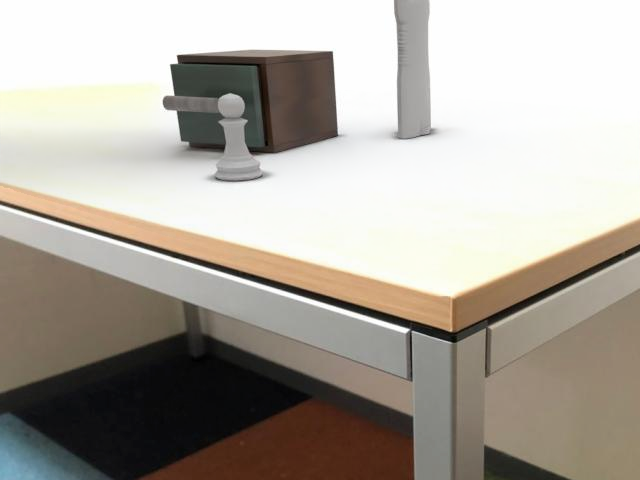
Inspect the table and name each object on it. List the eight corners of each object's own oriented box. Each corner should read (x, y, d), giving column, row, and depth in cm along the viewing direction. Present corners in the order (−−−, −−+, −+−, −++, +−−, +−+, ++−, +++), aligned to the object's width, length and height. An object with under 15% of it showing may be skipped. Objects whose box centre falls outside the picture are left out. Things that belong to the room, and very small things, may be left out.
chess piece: (205, 179, 74) (194, 94, 71) (231, 170, 78) (222, 90, 75) (247, 182, 72) (237, 96, 69) (271, 173, 77) (264, 91, 73)
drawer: (234, 153, 82) (225, 69, 79) (154, 147, 86) (141, 66, 83) (321, 131, 97) (316, 59, 94) (249, 126, 101) (242, 57, 98)
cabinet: (274, 153, 88) (265, 56, 83) (189, 146, 92) (176, 54, 88) (338, 135, 100) (333, 51, 96) (260, 130, 104) (252, 49, 100)
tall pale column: (415, 139, 96) (412, -52, 88) (386, 138, 98) (379, -51, 89) (441, 128, 106) (440, -46, 97) (414, 127, 107) (410, -45, 98)
